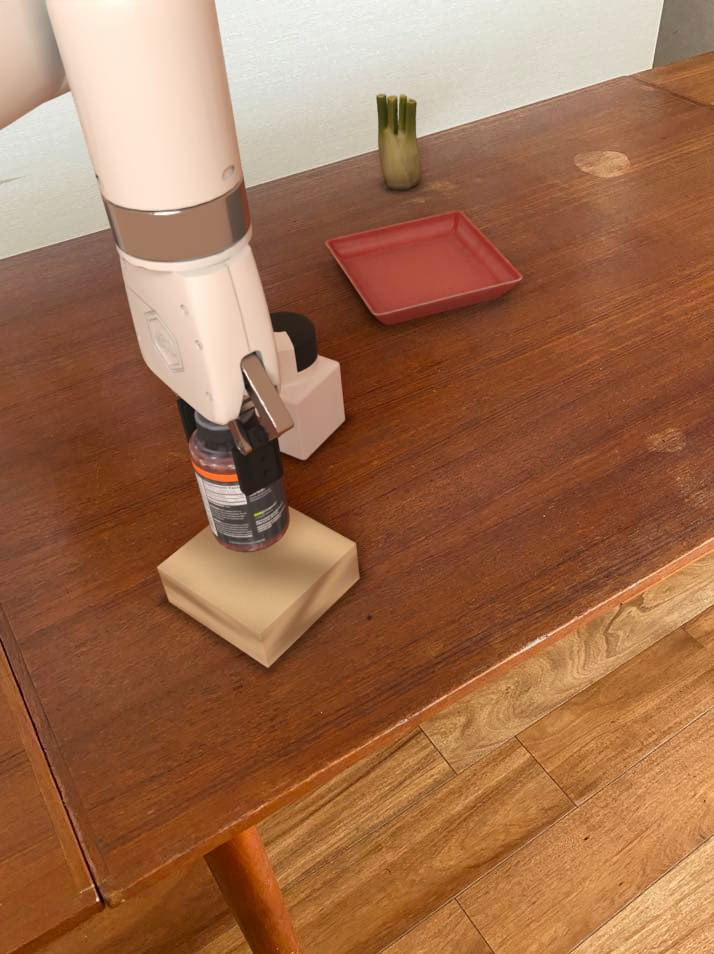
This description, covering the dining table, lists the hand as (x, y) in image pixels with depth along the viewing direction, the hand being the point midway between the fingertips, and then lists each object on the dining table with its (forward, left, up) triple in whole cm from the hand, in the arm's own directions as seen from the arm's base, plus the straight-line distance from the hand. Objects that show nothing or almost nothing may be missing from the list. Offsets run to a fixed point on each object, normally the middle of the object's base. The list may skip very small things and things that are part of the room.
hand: (235, 458), depth 60 cm
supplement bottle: (0, 0, -7) cm, 7 cm away
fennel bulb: (+56, +48, -15) cm, 75 cm away
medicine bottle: (+14, +15, -15) cm, 25 cm away
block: (0, 0, -14) cm, 14 cm away
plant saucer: (+41, +27, -15) cm, 51 cm away
